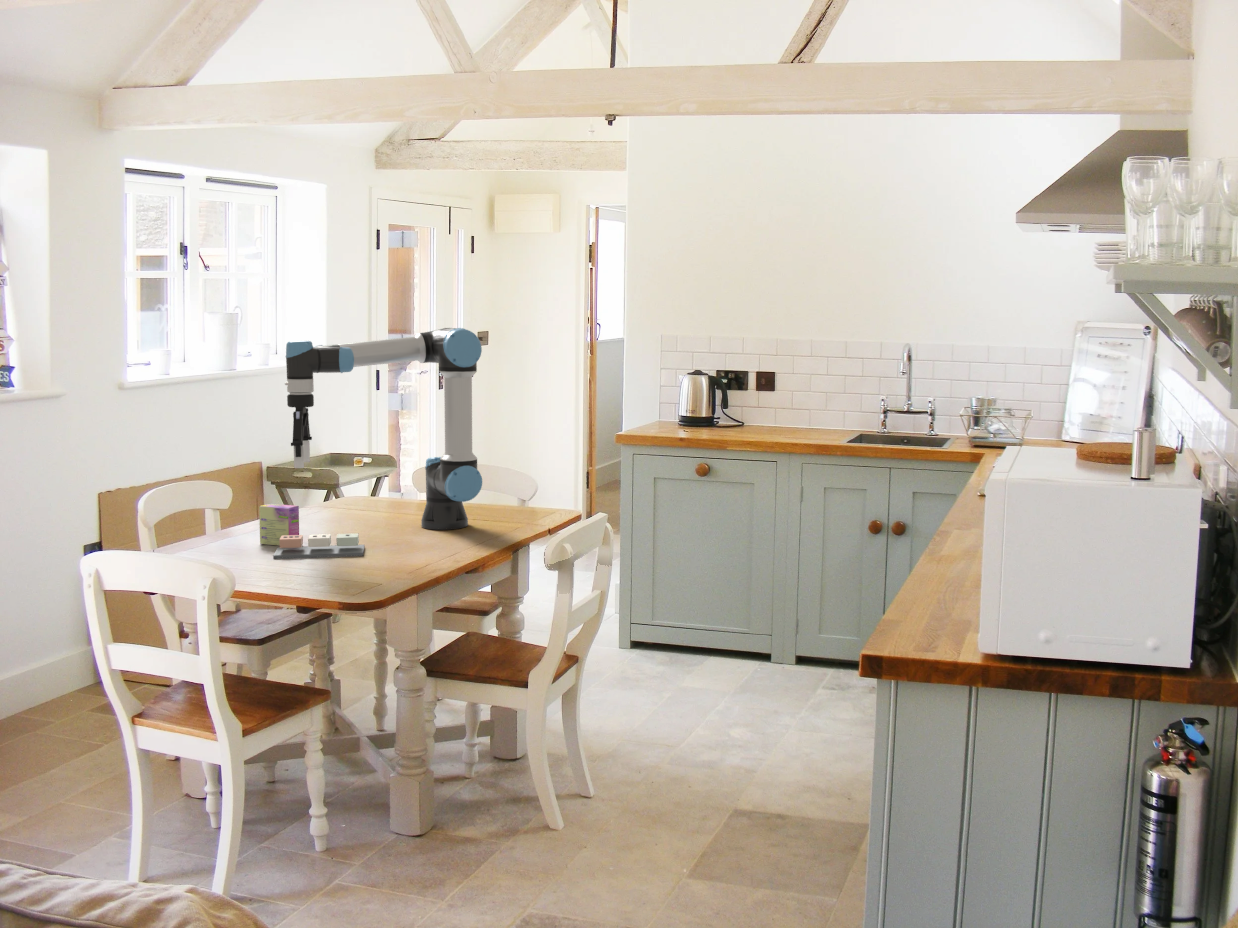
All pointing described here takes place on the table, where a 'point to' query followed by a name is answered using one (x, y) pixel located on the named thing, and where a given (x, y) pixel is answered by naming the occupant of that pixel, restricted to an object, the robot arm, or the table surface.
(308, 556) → the keypad board
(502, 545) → the table surface
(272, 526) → the box
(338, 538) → the tile one
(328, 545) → the tile two
